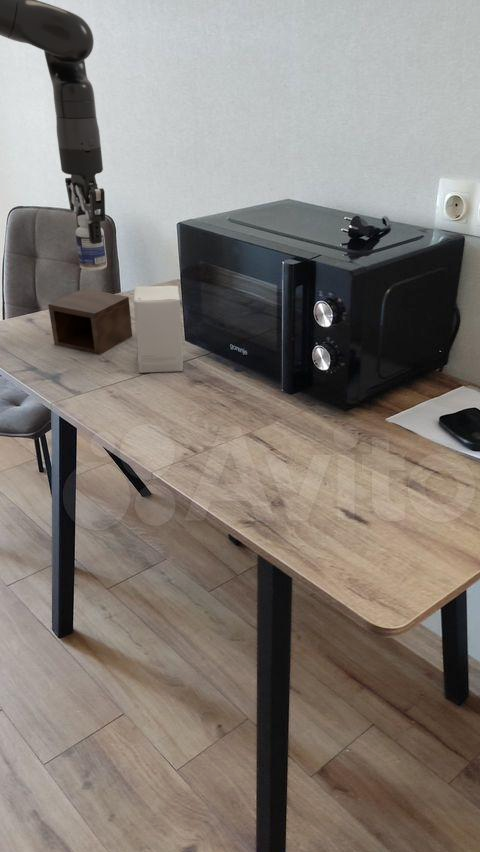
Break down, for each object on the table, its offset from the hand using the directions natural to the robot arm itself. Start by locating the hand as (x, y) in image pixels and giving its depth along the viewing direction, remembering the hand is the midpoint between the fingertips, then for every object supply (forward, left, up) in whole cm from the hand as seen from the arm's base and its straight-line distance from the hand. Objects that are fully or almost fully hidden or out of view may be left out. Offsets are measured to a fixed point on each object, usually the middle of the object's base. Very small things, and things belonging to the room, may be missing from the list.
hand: (90, 239), depth 137 cm
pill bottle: (0, 0, -6) cm, 6 cm away
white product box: (0, -15, -23) cm, 28 cm away
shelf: (+4, +5, -23) cm, 24 cm away
